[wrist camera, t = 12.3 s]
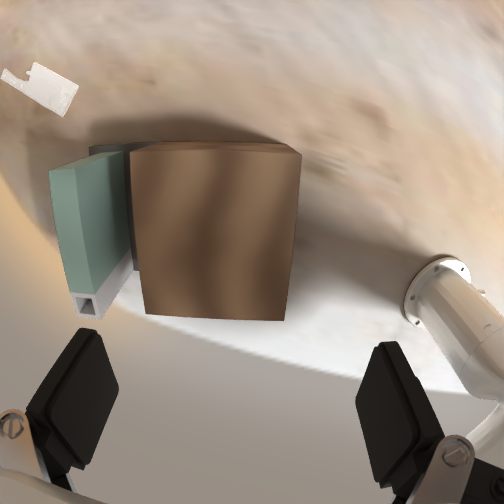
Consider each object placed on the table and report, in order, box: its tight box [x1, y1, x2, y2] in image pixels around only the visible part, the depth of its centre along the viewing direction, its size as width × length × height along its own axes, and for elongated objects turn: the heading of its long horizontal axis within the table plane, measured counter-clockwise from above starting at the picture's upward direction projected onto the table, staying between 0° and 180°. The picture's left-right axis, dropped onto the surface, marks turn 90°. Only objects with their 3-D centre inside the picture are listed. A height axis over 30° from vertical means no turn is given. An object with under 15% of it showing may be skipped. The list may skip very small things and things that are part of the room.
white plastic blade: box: [0, 62, 79, 117], centre depth 27 cm, size 5×15×1 cm, turn 54°
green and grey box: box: [48, 151, 134, 320], centre depth 29 cm, size 3×15×11 cm, turn 177°
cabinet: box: [89, 141, 302, 321], centre depth 31 cm, size 23×16×10 cm
